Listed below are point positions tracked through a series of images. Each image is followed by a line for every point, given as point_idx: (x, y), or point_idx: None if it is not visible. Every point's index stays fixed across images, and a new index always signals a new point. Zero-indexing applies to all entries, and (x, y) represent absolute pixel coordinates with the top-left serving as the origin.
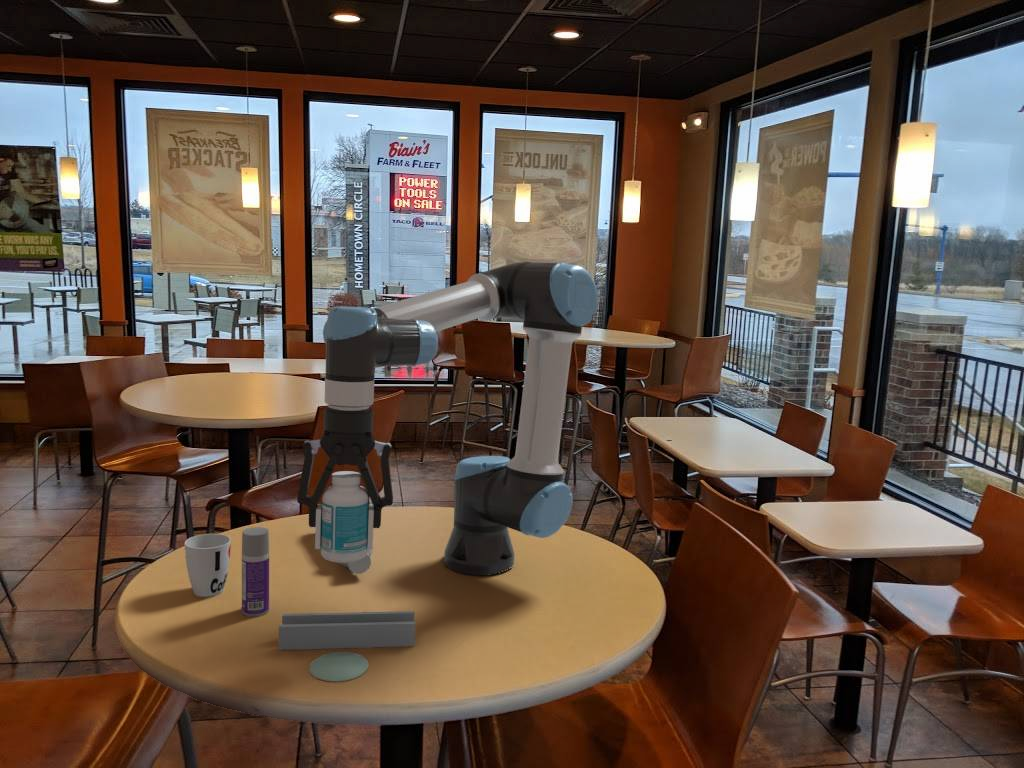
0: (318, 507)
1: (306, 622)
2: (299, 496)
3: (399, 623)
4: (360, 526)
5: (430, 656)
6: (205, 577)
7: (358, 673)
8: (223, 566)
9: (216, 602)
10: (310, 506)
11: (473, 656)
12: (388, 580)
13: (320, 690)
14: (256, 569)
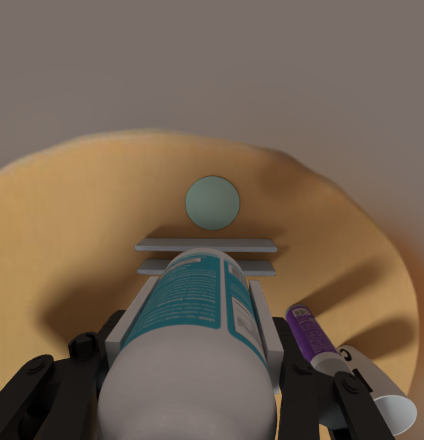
0: (276, 366)
1: (248, 267)
2: (368, 402)
3: (151, 247)
4: (155, 293)
5: (128, 218)
6: (361, 360)
7: (193, 188)
8: None
9: (335, 334)
10: (305, 362)
11: (88, 215)
12: None
13: (226, 161)
14: (319, 343)
